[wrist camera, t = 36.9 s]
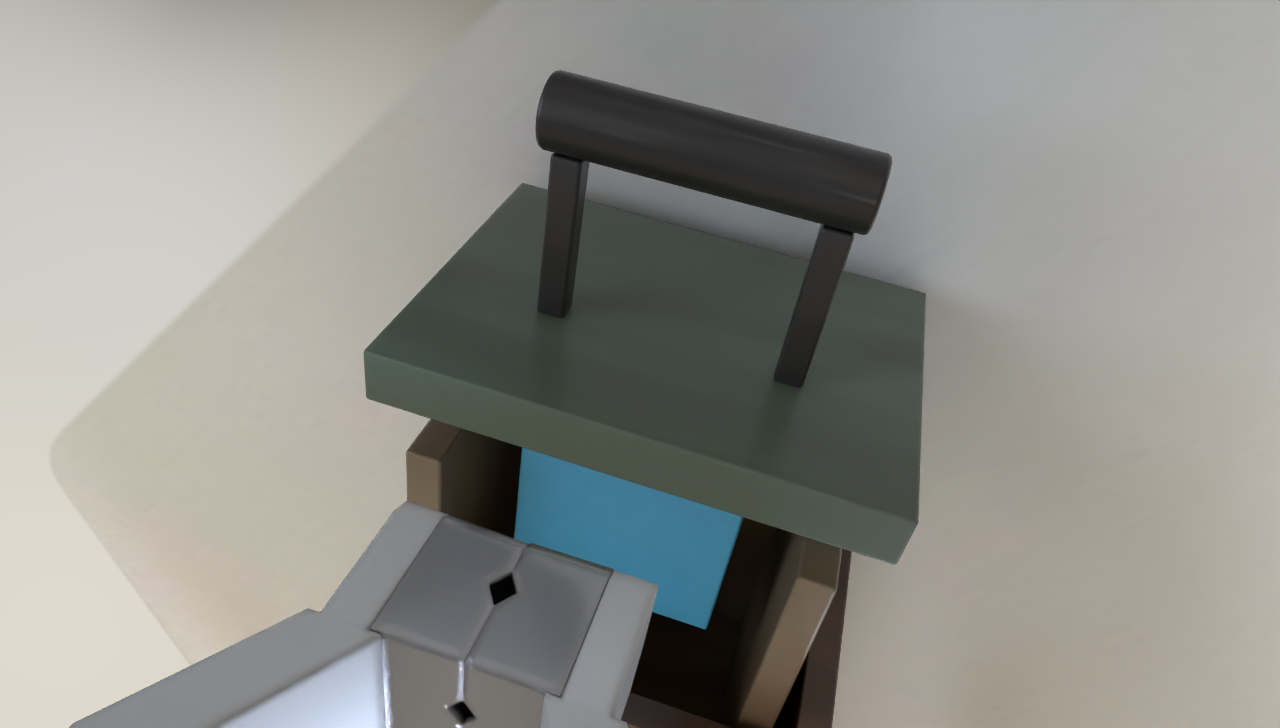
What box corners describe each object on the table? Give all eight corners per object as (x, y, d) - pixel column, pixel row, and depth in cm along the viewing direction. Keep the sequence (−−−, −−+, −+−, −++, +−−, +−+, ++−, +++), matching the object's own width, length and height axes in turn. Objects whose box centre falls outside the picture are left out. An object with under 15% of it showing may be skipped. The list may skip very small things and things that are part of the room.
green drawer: (536, -20, 19) (346, 95, 13) (1010, 95, 18) (1045, 281, 12) (497, 529, 30) (386, 727, 24) (785, 625, 29) (744, 860, 23)
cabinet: (499, 380, 28) (334, 620, 20) (859, 490, 26) (824, 794, 19) (483, 645, 36) (364, 879, 29) (749, 738, 35) (697, 1010, 28)
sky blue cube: (597, 295, 22) (523, 415, 18) (788, 350, 21) (754, 486, 18) (577, 437, 25) (510, 565, 21) (743, 489, 25) (705, 631, 21)
